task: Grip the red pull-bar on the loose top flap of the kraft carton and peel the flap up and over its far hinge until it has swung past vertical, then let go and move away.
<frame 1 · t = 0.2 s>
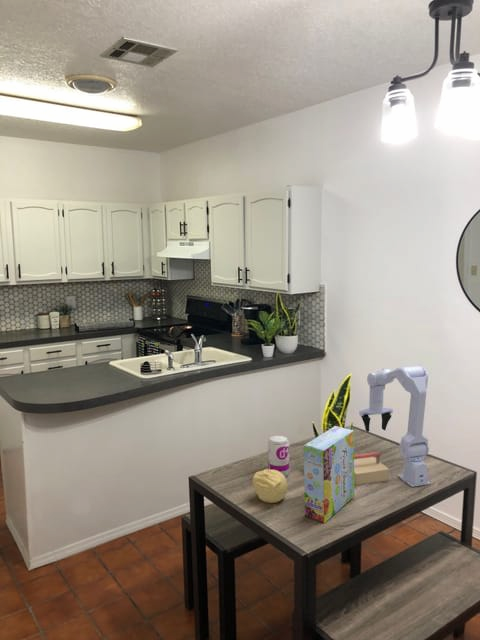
hand: (375, 430, 221), 10 cm above the table, tool pointing down, fingers open, 7 cm apart
snack box: (329, 507, 178), on the table
pale yellow round lump: (270, 498, 184), on the table
supplement can: (278, 474, 203), on the table
carton: (364, 475, 200), on the table
loose flap: (361, 457, 202), point 6 cm above the table, hinge at 0.0°
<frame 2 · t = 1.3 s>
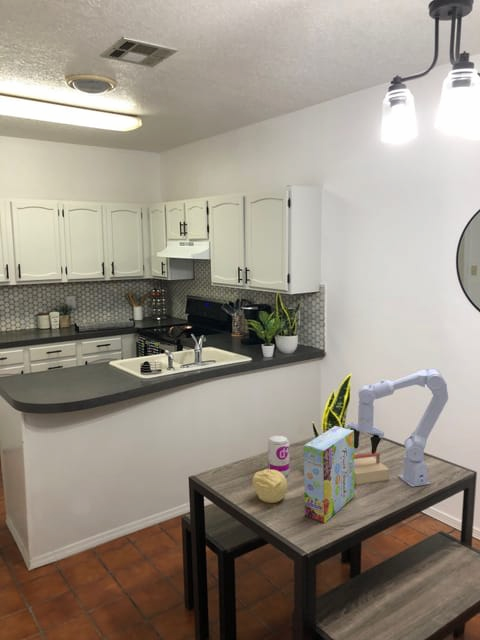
hand: (364, 450, 199), 10 cm above the table, tool pointing down, fingers open, 7 cm apart
nothing on the table moved.
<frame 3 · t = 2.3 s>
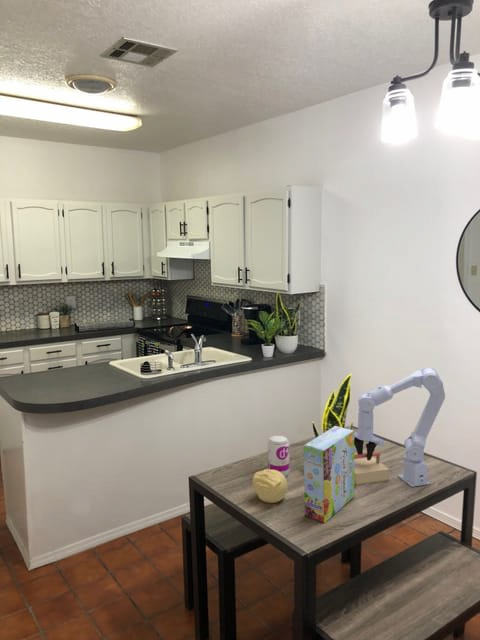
hand: (364, 458, 200), 7 cm above the table, tool pointing down, fingers closed on loose flap, 3 cm apart
loose flap: (361, 457, 202), point 6 cm above the table, hinge at 0.0°, touching gripper
everything else where it was.
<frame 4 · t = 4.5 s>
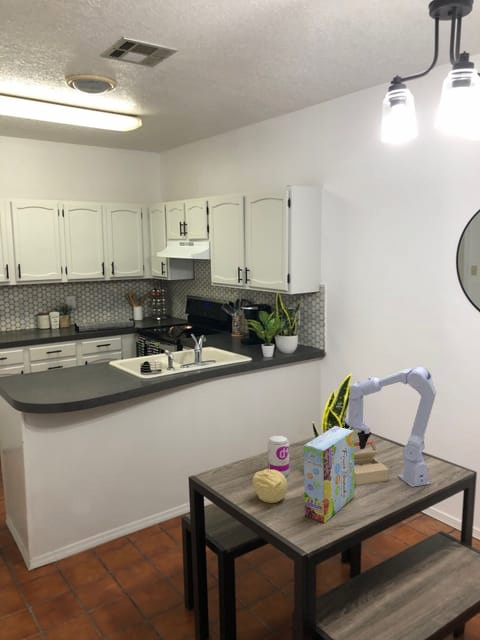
hand: (355, 444, 207), 9 cm above the table, tool pointing down, fingers open, 7 cm apart
loose flap: (358, 450, 205), point 8 cm above the table, hinge at 49.2°, touching gripper
everything else where it was.
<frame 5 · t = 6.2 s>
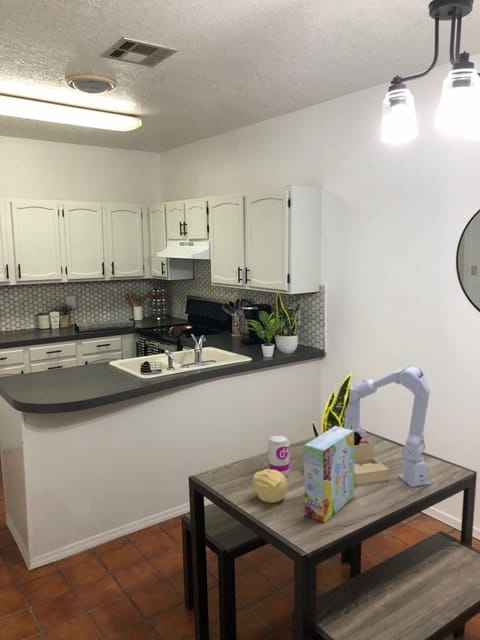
hand: (352, 447, 210), 7 cm above the table, tool pointing down, fingers open, 4 cm apart
loose flap: (355, 449, 207), point 7 cm above the table, hinge at 92.2°, touching gripper
everything else where it was.
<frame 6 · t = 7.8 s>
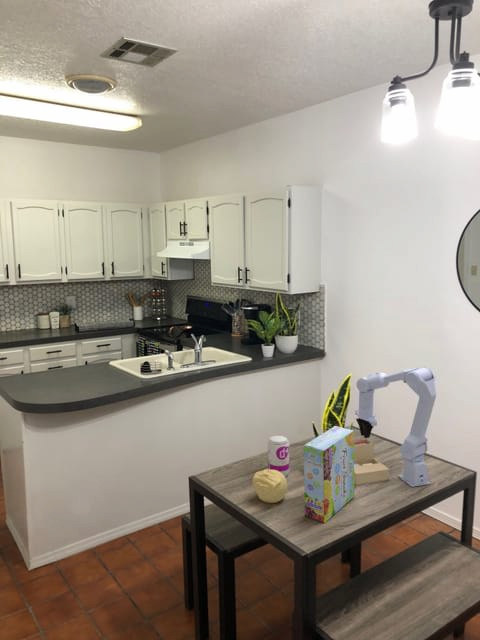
hand: (365, 436, 213), 10 cm above the table, tool pointing down, fingers closed
loose flap: (355, 449, 207), point 7 cm above the table, hinge at 92.5°
everything else where it was.
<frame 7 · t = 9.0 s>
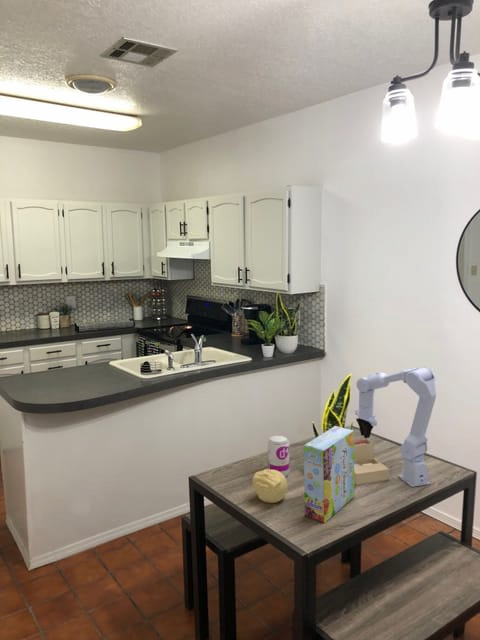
hand: (365, 436, 213), 10 cm above the table, tool pointing down, fingers closed
nothing on the table moved.
at the end: loose flap at +92° (first picture: +0°); the gripper is holding nothing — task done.
